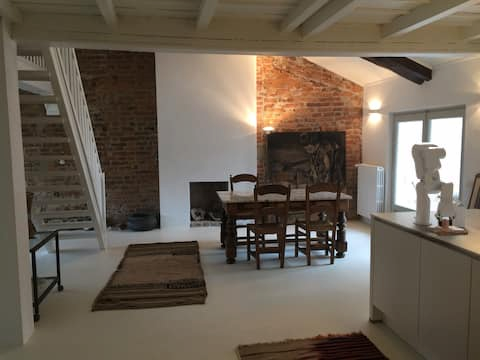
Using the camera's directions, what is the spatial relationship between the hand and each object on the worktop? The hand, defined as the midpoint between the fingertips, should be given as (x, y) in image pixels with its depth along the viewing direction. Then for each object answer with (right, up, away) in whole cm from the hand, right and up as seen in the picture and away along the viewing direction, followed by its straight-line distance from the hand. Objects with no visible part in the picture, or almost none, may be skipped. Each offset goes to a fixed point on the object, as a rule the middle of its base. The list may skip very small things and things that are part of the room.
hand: (445, 226), depth 274 cm
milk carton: (+18, -3, +18) cm, 25 cm away
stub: (0, -3, 0) cm, 3 cm away
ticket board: (+1, -4, +1) cm, 4 cm away
